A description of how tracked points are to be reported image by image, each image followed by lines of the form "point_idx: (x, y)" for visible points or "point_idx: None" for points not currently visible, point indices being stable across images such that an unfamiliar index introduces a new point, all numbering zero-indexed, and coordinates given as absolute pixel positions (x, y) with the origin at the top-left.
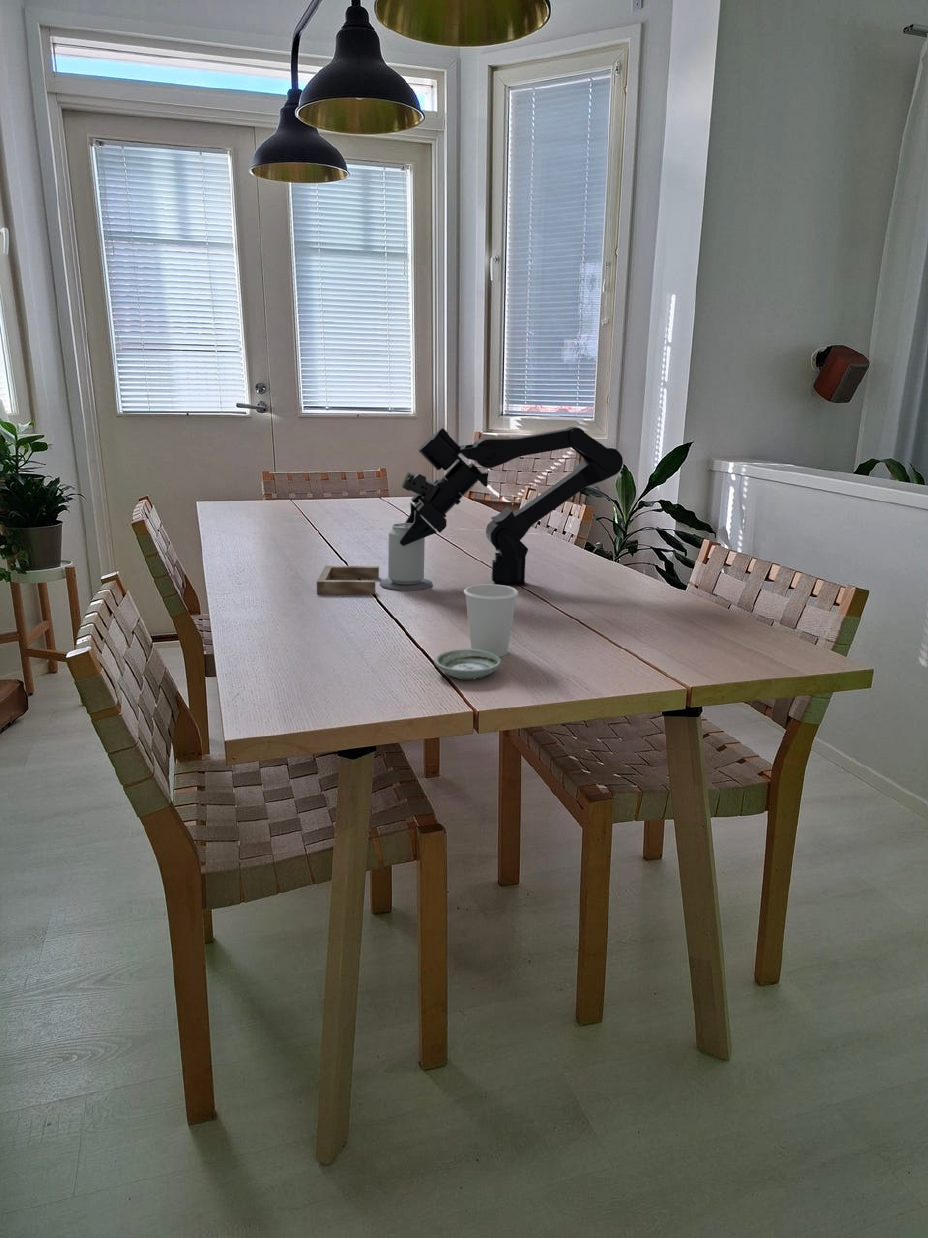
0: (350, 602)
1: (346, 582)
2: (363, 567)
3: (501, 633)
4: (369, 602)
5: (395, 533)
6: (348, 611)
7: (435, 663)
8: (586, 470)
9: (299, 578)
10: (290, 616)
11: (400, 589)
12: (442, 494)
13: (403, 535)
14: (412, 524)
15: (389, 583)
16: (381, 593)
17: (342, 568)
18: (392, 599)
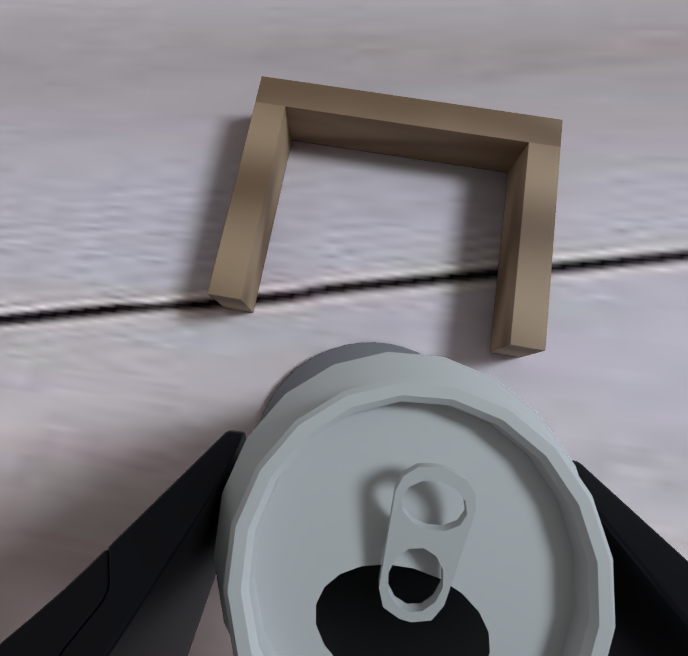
0: (127, 211)
1: (237, 182)
2: (516, 274)
3: None
4: (110, 274)
5: (290, 403)
6: (11, 195)
7: None
8: None
9: (519, 66)
10: (10, 34)
11: (263, 417)
12: None
13: (232, 478)
14: (37, 637)
15: None
16: (235, 334)
17: (521, 188)
18: (131, 364)
